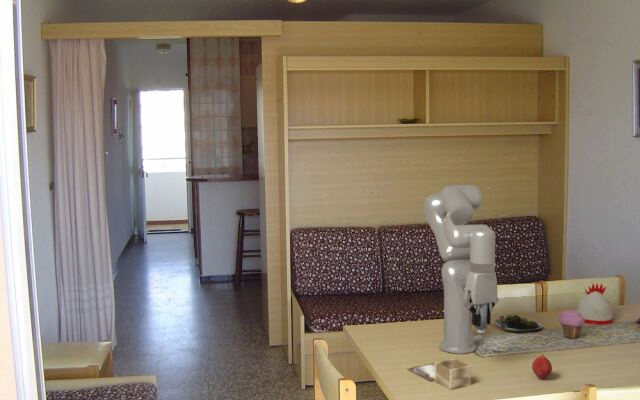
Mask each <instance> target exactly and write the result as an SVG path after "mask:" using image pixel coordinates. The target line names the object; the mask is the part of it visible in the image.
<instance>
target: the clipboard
mask: <svg viewBox="0 0 640 400" xmlns="http://www.w3.org/2000/svg"><path fill="white" fill-rule="evenodd" d="M445 360H446V359H445ZM445 360H443V361H445ZM441 361H442V360H441ZM441 361H439V362H441ZM436 362H437V361H436ZM436 362H431V363H427V364H422V365H417V366H412V367H409V368H407V371H409V372H411V373H412V374H414V375H416V376H418V377H420V378H423V379H424V380H427V381H428V382H430V383H431V382H435V363H436Z"/></svg>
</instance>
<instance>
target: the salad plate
mask: <svg viewBox="0 0 640 400" xmlns="http://www.w3.org/2000/svg"><path fill="white" fill-rule="evenodd" d="M493 324H494V325H495V326H496V327H497V328H499V329H501V330H502V331H504V332H506V333H511V334H532V333H538V332H541V330H543V327H544V326H543V324H541V323H539V322H536V321H534V320H532V319H531V318H527V317H521V316H519V315H517V314H514V315H510V314H507V315H506V316H504V315H501V316H499V319H495V320H493Z"/></svg>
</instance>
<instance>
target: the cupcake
mask: <svg viewBox="0 0 640 400" xmlns="http://www.w3.org/2000/svg"><path fill="white" fill-rule="evenodd" d="M558 318H559V321H558V322H559V323H560V325H561V327H562V333H563V336H564V337H565V338H570V339H576V338H578V337H580V336H581V332H582V327H583V326H584V325H585V323H584V322H585V320H584V317H583V316H582V315H581V314H580V313H579V312H577V310H563V311H562V312H561V313H560V314H559V317H558Z"/></svg>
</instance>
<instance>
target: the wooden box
mask: <svg viewBox="0 0 640 400" xmlns="http://www.w3.org/2000/svg"><path fill="white" fill-rule="evenodd" d="M434 363H435V362H434ZM434 382H435V383H436V384H439V385H440V386H443V387H444V388H446V389H449V390H450V391H453V390H456V389H461V388H465V387H468V386H469V387H470V386H471V385H472V365H471V364H468V363H465V362H464V361H461V360H459V359H456V358H450V359H445V361H444V360H441V362H440V361H436V363H435V381H434Z"/></svg>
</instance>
